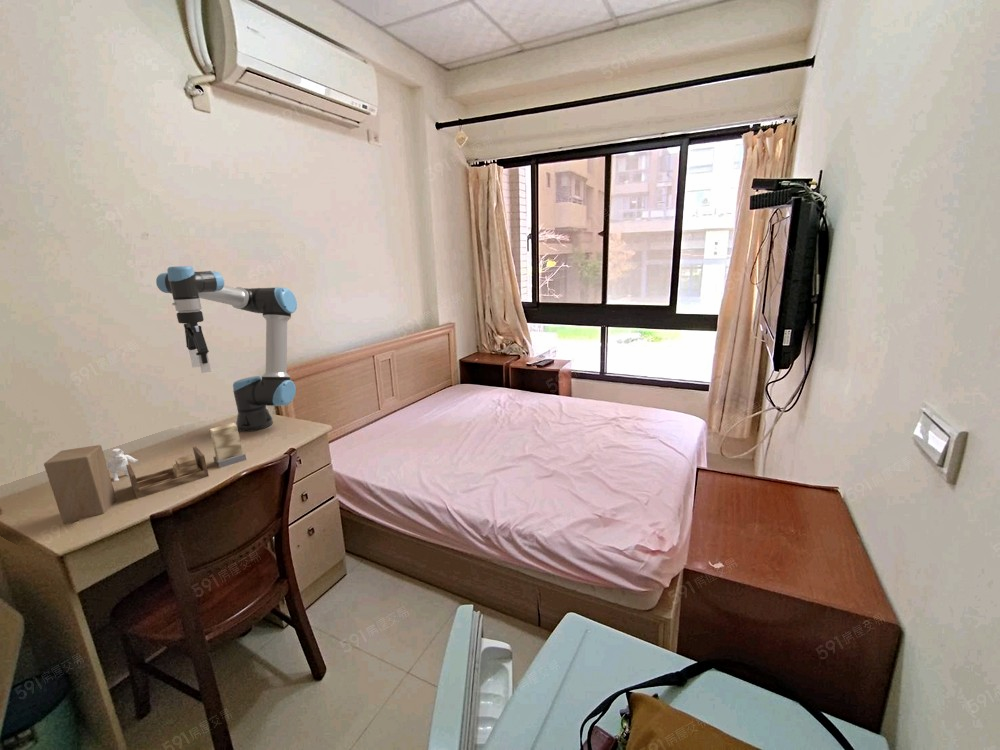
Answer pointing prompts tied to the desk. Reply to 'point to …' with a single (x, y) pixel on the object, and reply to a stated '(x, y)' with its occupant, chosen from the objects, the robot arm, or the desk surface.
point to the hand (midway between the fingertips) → (201, 369)
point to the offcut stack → (185, 466)
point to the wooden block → (80, 483)
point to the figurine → (119, 463)
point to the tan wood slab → (226, 441)
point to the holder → (230, 460)
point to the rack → (165, 478)
